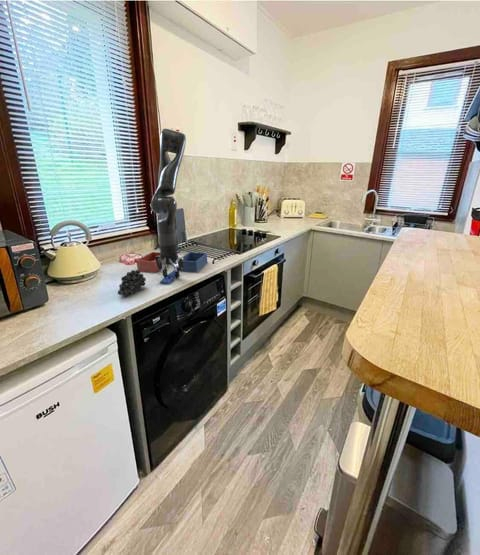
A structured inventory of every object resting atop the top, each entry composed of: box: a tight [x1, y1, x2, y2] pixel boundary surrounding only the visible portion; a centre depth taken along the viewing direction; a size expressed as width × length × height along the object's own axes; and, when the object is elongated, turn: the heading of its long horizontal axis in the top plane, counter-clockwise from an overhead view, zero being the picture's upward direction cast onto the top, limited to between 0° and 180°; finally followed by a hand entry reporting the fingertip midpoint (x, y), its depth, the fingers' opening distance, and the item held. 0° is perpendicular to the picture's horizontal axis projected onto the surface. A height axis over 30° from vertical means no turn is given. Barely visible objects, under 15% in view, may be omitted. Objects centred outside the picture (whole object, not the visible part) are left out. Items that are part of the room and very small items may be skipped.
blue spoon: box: [159, 269, 175, 285], centre depth 127 cm, size 11×4×3 cm, turn 166°
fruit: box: [117, 269, 147, 298], centre depth 113 cm, size 9×8×15 cm
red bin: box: [135, 251, 163, 273], centre depth 143 cm, size 10×15×6 cm
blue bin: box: [177, 251, 208, 273], centre depth 143 cm, size 10×15×6 cm
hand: (171, 277), depth 129 cm, fingers open, 5 cm apart
